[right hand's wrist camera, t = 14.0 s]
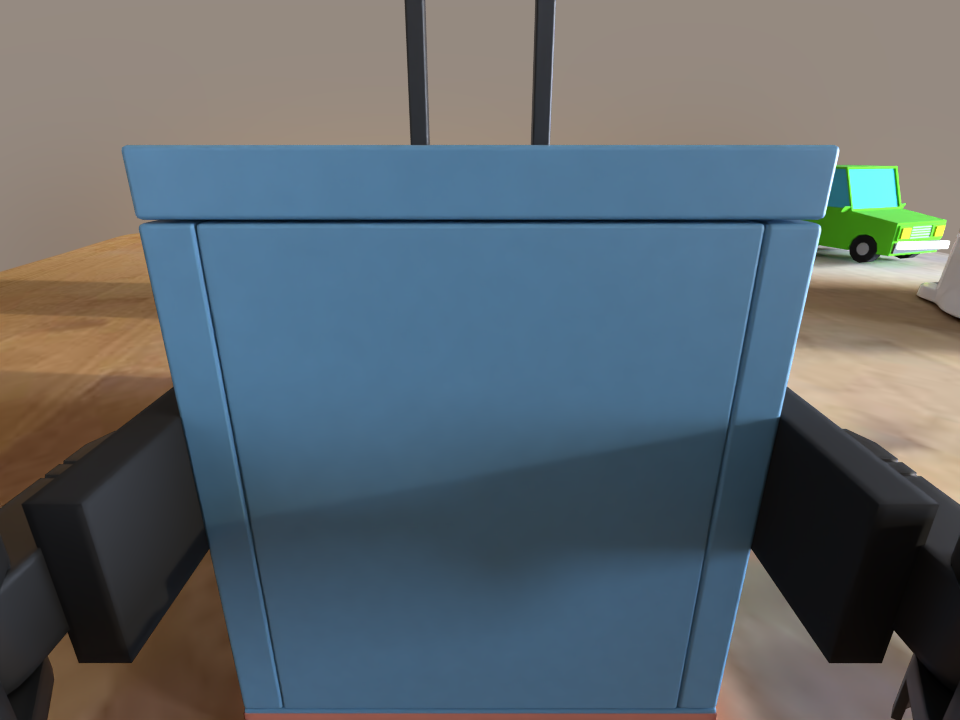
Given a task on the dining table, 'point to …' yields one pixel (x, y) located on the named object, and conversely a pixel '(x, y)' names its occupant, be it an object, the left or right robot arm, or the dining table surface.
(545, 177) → the lid
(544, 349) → the chest
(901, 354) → the dining table surface
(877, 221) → the toy car
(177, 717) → the dining table surface
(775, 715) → the dining table surface
